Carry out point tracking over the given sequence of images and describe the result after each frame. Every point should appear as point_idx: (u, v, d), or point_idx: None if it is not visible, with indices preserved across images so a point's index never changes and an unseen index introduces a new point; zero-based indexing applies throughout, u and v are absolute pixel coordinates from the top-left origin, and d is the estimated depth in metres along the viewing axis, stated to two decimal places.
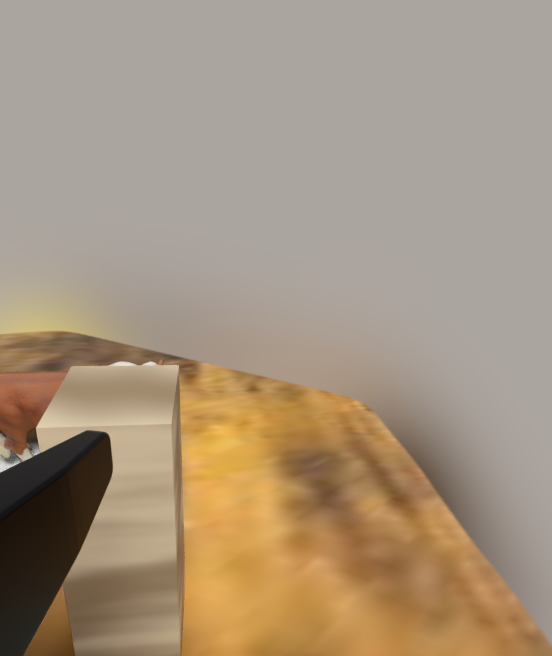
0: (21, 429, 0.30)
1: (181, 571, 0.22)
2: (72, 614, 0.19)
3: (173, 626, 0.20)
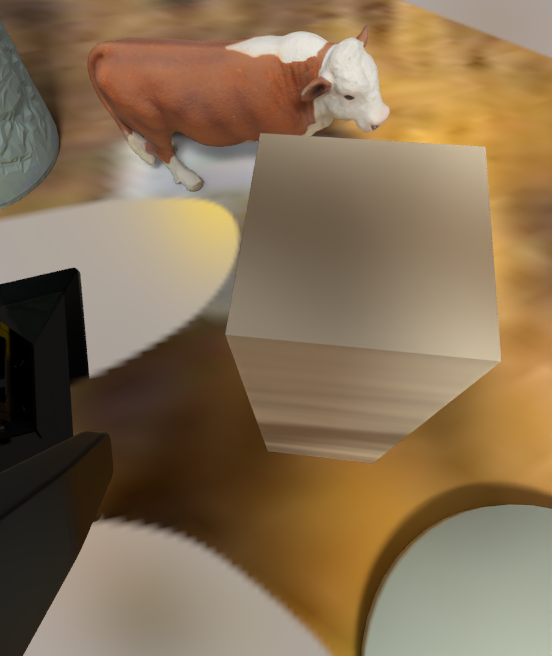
0: (163, 133, 0.22)
1: None
2: (266, 434, 0.16)
3: (377, 453, 0.17)
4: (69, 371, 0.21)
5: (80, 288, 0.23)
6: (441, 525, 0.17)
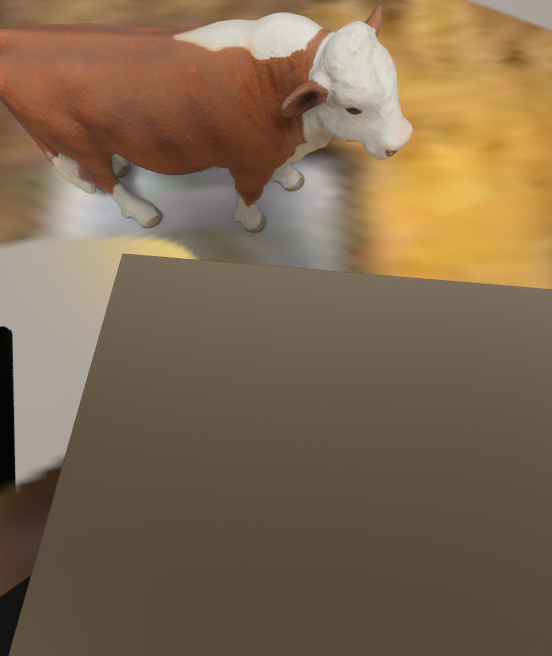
0: (98, 157, 0.16)
1: None
2: None
3: None
4: None
5: (10, 355, 0.18)
6: None
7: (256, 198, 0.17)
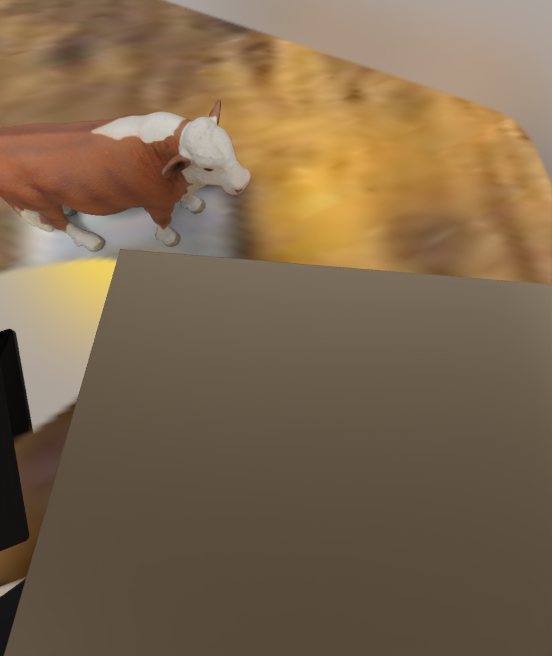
0: (52, 208, 0.23)
1: None
2: None
3: None
4: (13, 429, 0.23)
5: (17, 348, 0.25)
6: None
7: (167, 223, 0.25)
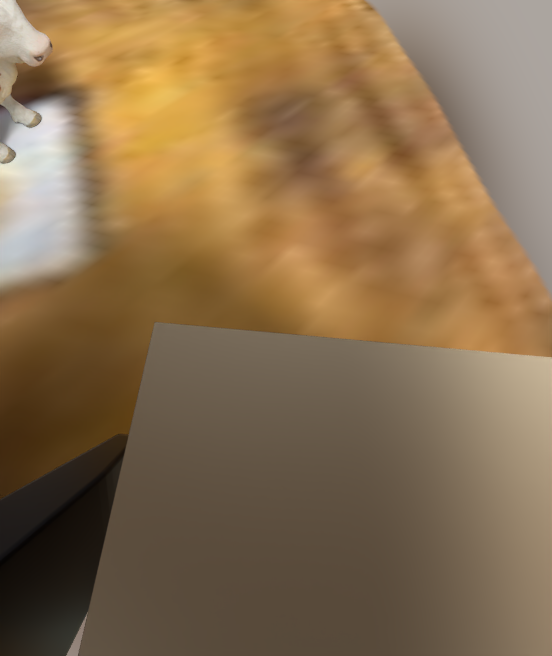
0: None
1: None
2: None
3: None
4: None
5: None
6: None
7: None
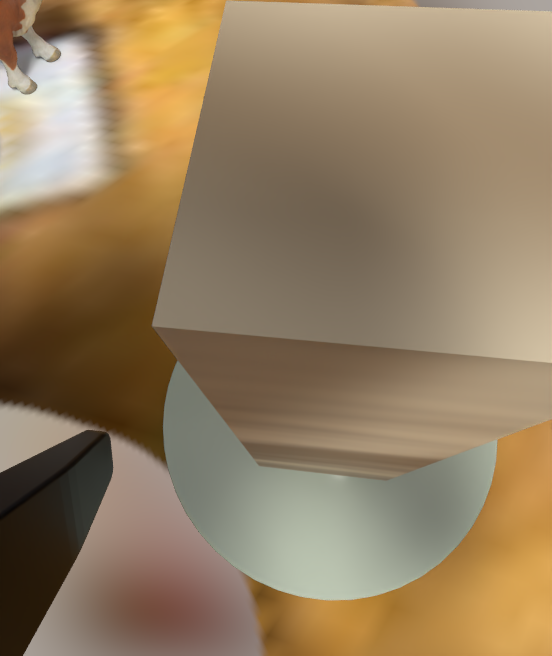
0: None
1: None
2: (254, 452, 0.13)
3: (394, 473, 0.13)
4: None
5: None
6: None
7: (13, 58, 0.23)
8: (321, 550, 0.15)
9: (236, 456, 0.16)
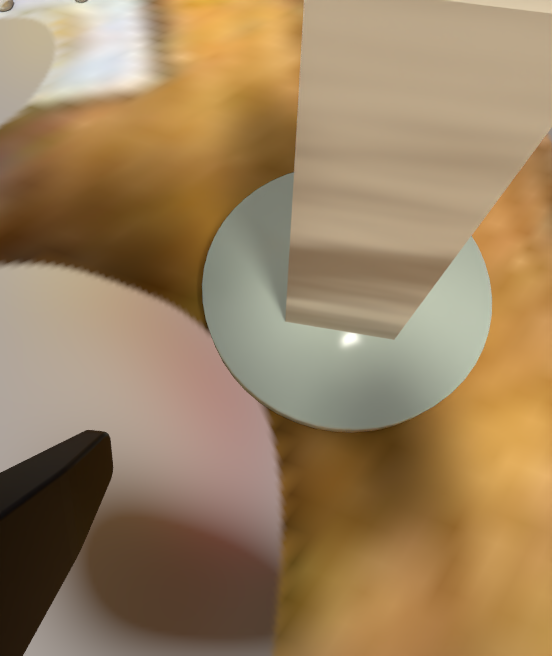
0: None
1: None
2: (292, 278, 0.15)
3: (406, 313, 0.16)
4: None
5: None
6: (251, 194, 0.21)
7: None
8: (335, 389, 0.18)
9: (265, 312, 0.19)
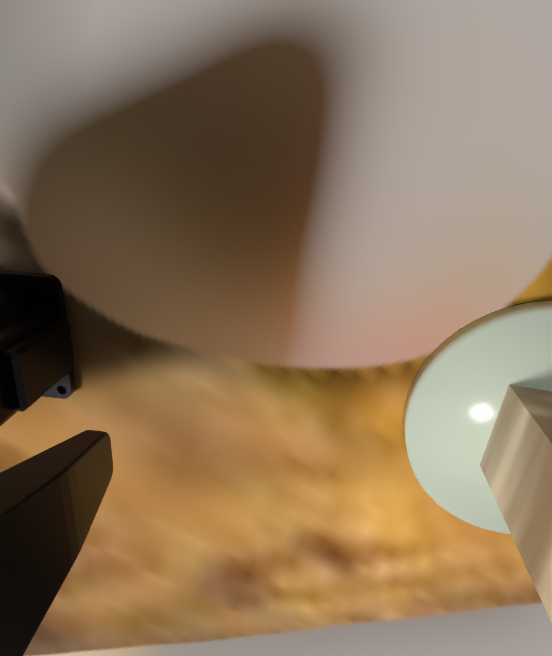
0: None
1: None
2: (545, 441, 0.17)
3: (499, 501, 0.19)
4: None
5: None
6: None
7: None
8: (439, 420, 0.21)
9: (520, 368, 0.20)
